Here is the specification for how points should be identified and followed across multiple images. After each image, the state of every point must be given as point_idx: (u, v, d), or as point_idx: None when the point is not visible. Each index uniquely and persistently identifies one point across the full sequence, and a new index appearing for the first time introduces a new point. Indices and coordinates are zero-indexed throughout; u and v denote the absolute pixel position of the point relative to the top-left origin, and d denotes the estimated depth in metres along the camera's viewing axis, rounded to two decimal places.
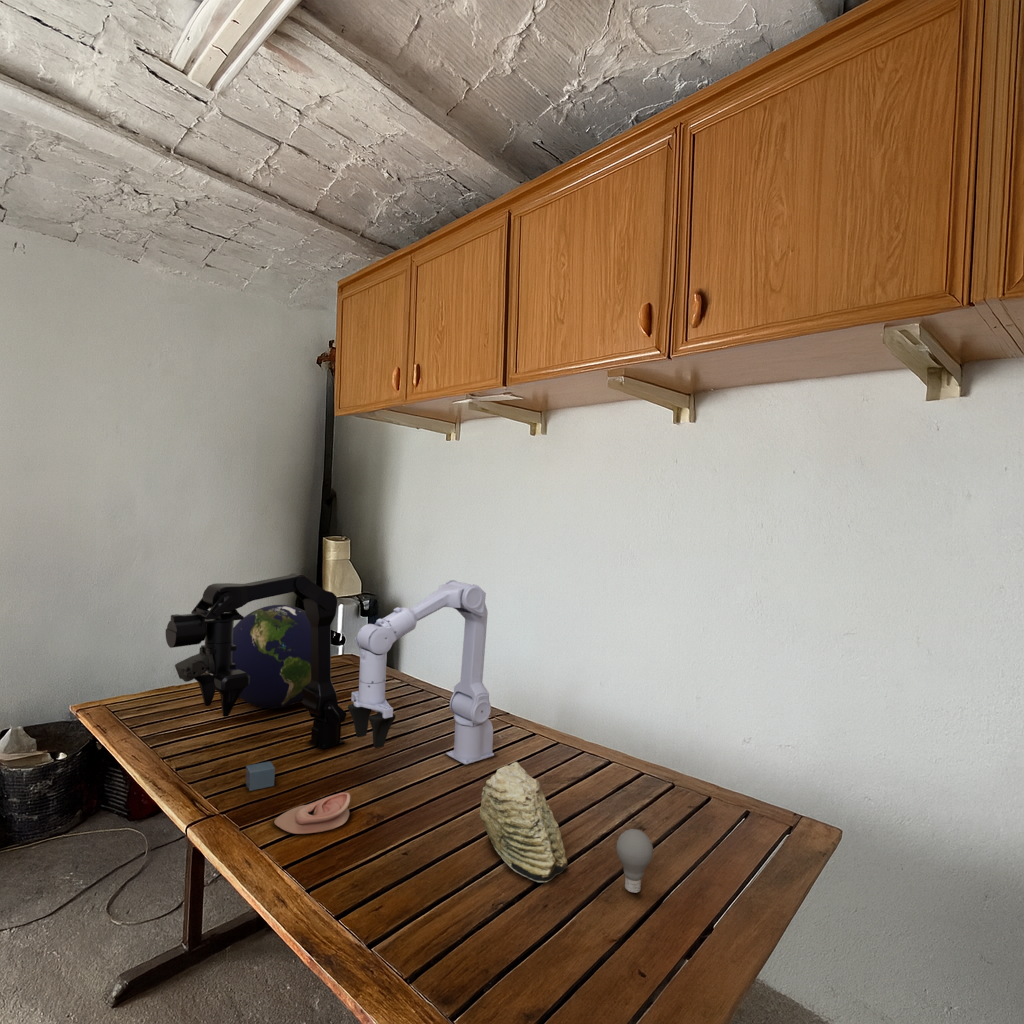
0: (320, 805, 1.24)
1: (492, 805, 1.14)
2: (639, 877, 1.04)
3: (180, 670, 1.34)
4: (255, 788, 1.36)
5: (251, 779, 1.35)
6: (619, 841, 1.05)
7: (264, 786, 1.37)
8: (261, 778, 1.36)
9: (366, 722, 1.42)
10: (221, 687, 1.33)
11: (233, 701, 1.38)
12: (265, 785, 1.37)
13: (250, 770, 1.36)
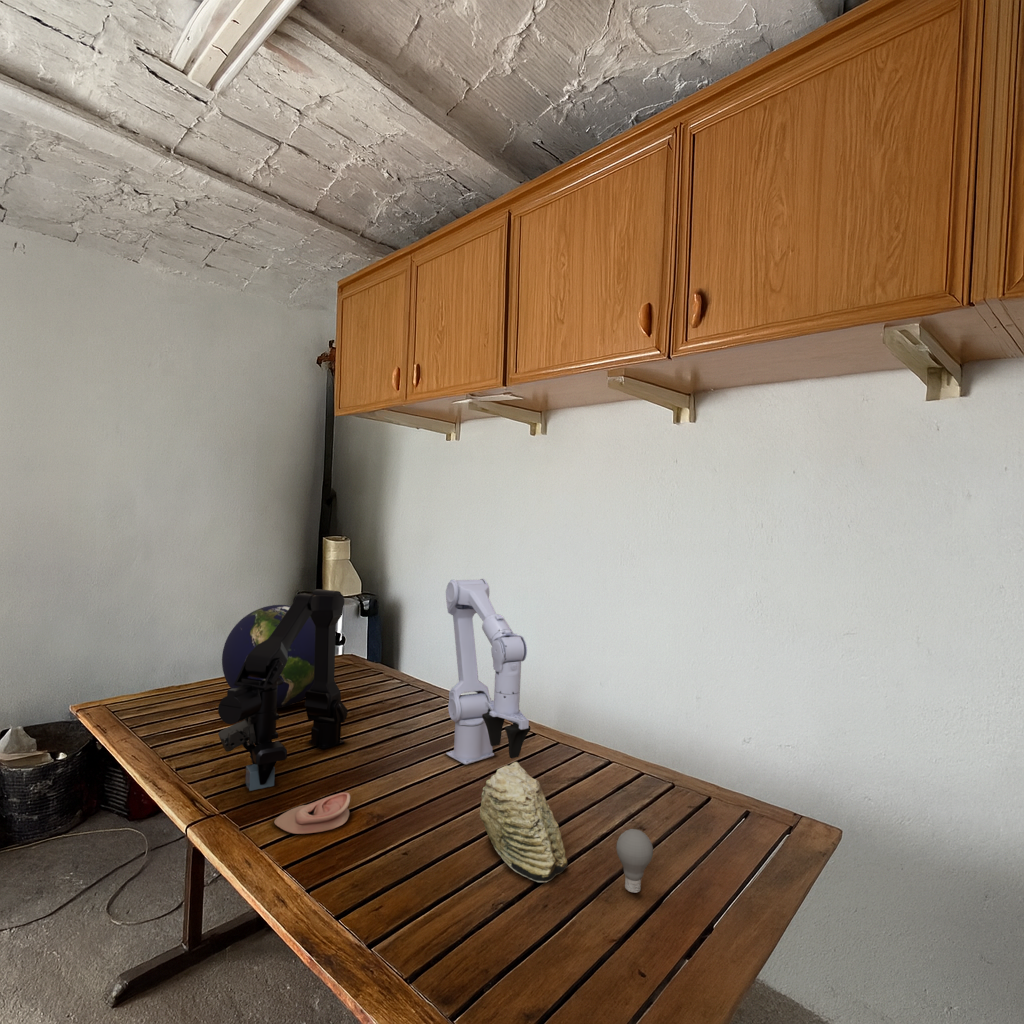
0: (320, 805, 1.24)
1: (492, 805, 1.14)
2: (639, 877, 1.04)
3: (221, 739, 1.32)
4: (255, 788, 1.36)
5: (251, 779, 1.35)
6: (619, 841, 1.05)
7: (264, 786, 1.37)
8: None
9: (500, 731, 1.45)
10: (256, 761, 1.29)
11: (269, 770, 1.36)
12: (265, 785, 1.37)
13: (250, 770, 1.36)
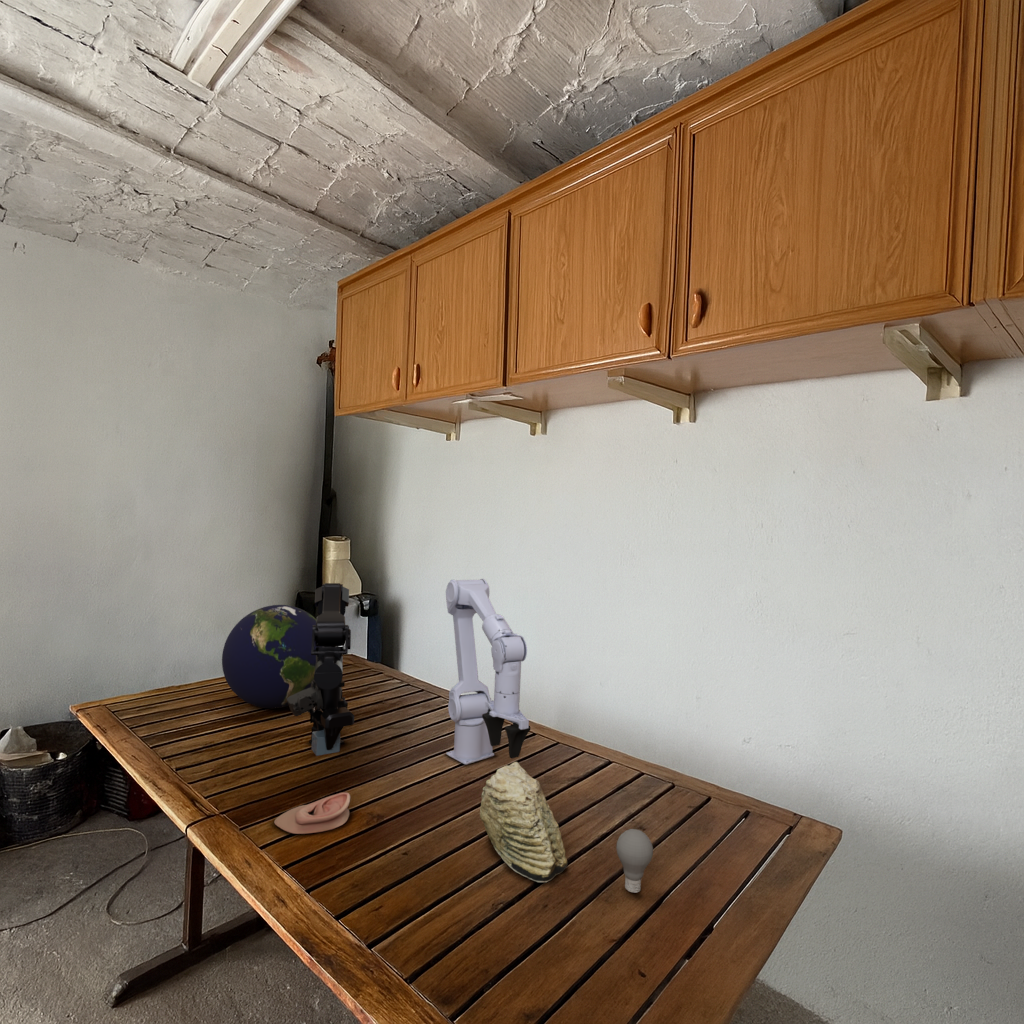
0: (320, 805, 1.24)
1: (492, 805, 1.14)
2: (639, 877, 1.04)
3: (290, 704, 1.35)
4: (322, 753, 1.38)
5: (318, 744, 1.38)
6: (619, 841, 1.05)
7: (330, 752, 1.39)
8: None
9: (500, 731, 1.45)
10: (325, 725, 1.32)
11: (335, 735, 1.39)
12: (331, 751, 1.39)
13: (317, 736, 1.39)
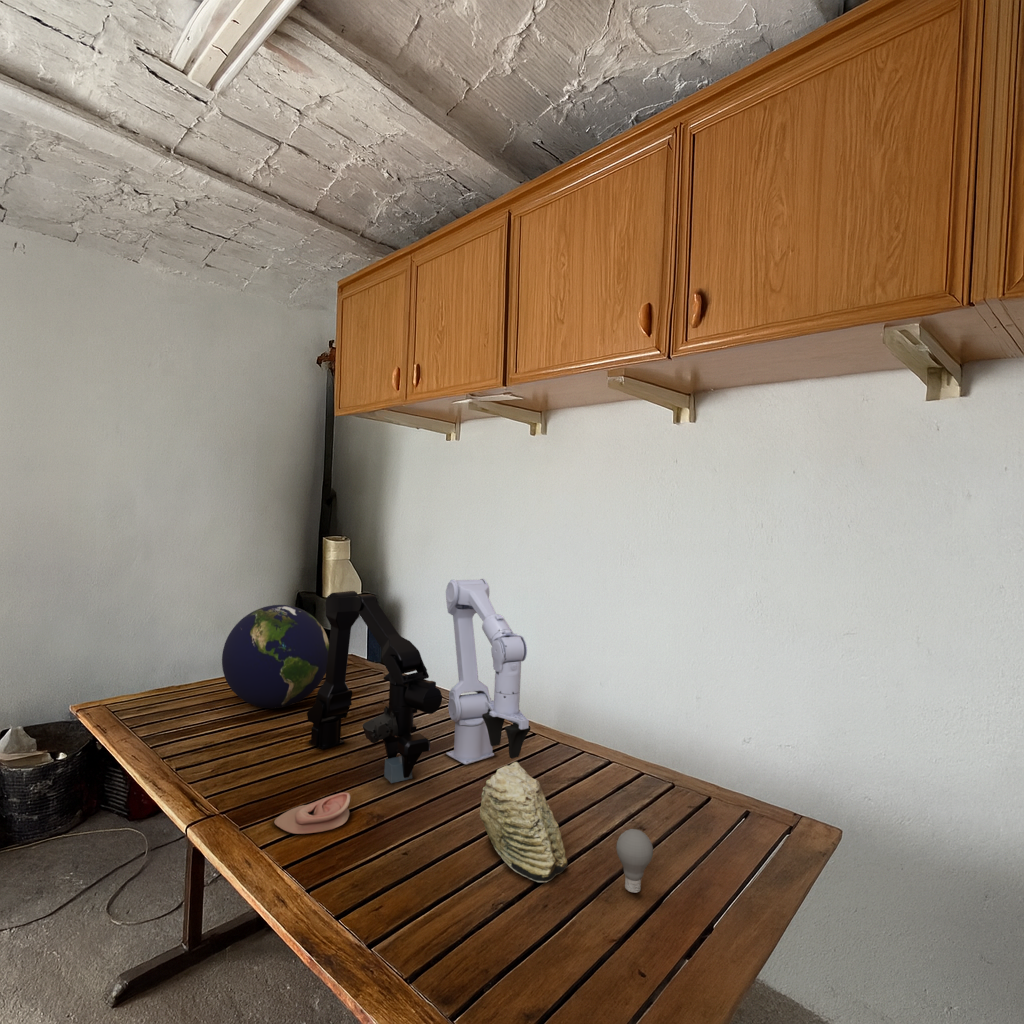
0: (320, 805, 1.24)
1: (492, 805, 1.14)
2: (639, 877, 1.04)
3: (367, 731, 1.39)
4: (396, 780, 1.42)
5: (393, 772, 1.41)
6: (619, 841, 1.05)
7: (403, 779, 1.43)
8: (401, 771, 1.43)
9: (500, 731, 1.45)
10: (404, 752, 1.35)
11: (413, 763, 1.41)
12: (404, 778, 1.43)
13: (391, 763, 1.42)
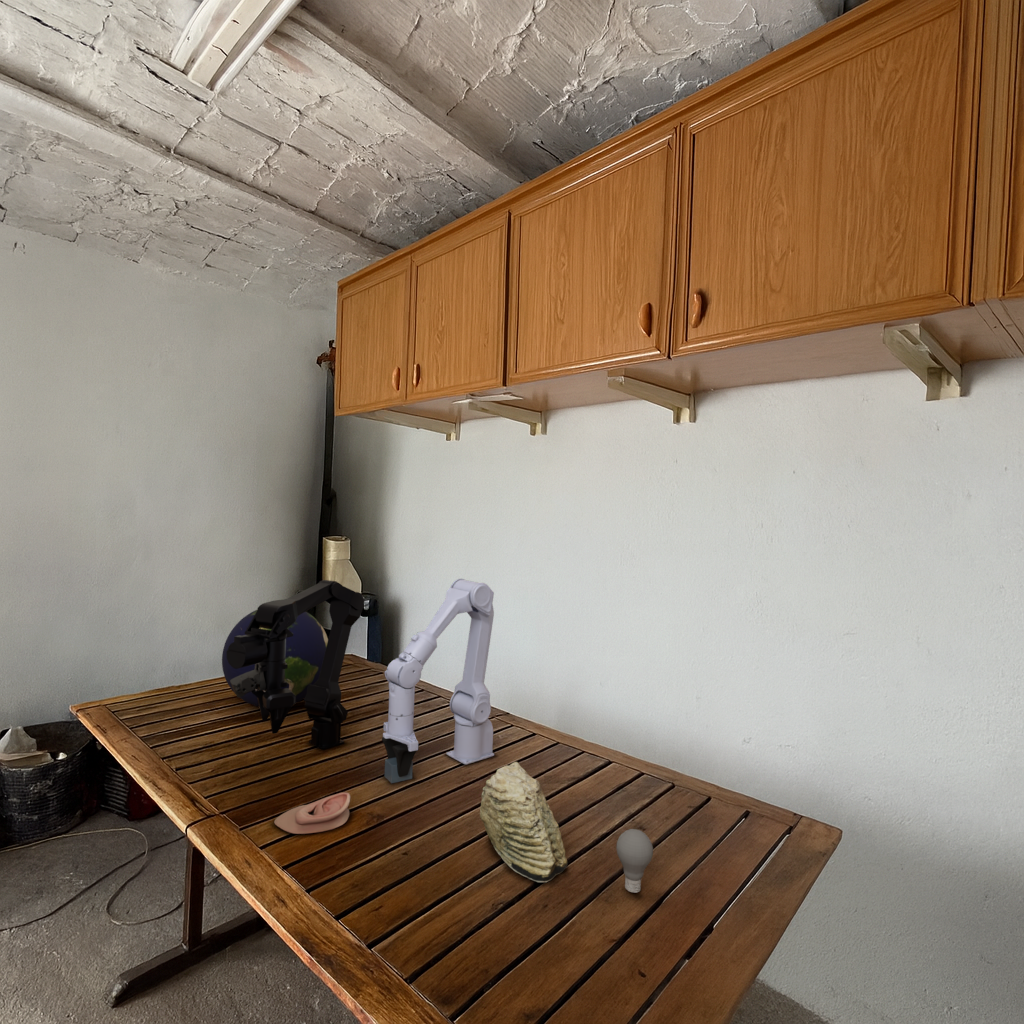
0: (320, 805, 1.24)
1: (492, 805, 1.14)
2: (639, 877, 1.04)
3: (233, 686, 1.39)
4: (396, 781, 1.42)
5: (393, 772, 1.41)
6: (619, 841, 1.05)
7: (404, 779, 1.43)
8: None
9: None
10: (266, 705, 1.36)
11: (281, 719, 1.41)
12: (404, 778, 1.43)
13: (391, 763, 1.42)
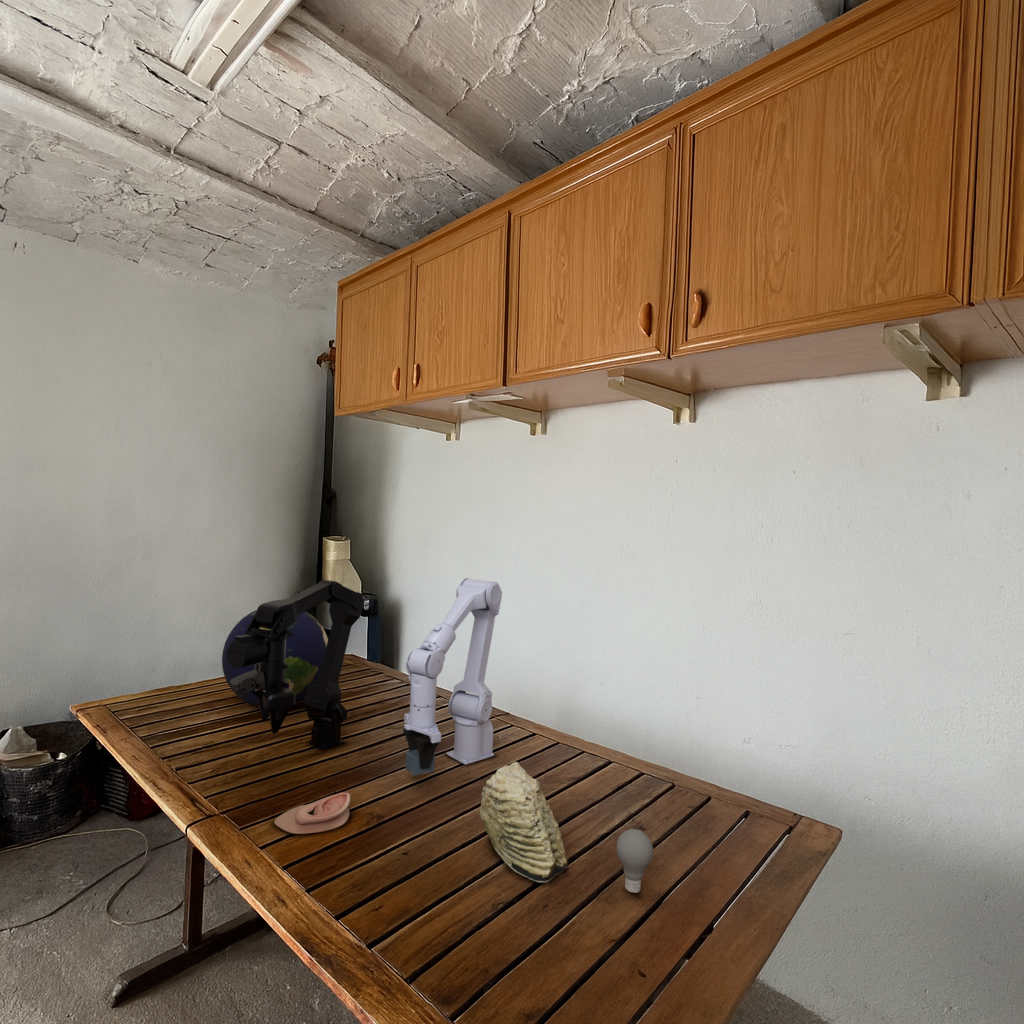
0: (320, 805, 1.24)
1: (492, 805, 1.14)
2: (639, 877, 1.04)
3: (233, 686, 1.39)
4: (418, 773, 1.39)
5: (414, 764, 1.38)
6: (619, 841, 1.05)
7: (425, 771, 1.40)
8: None
9: None
10: (266, 705, 1.36)
11: (281, 719, 1.41)
12: (426, 771, 1.40)
13: (413, 756, 1.39)
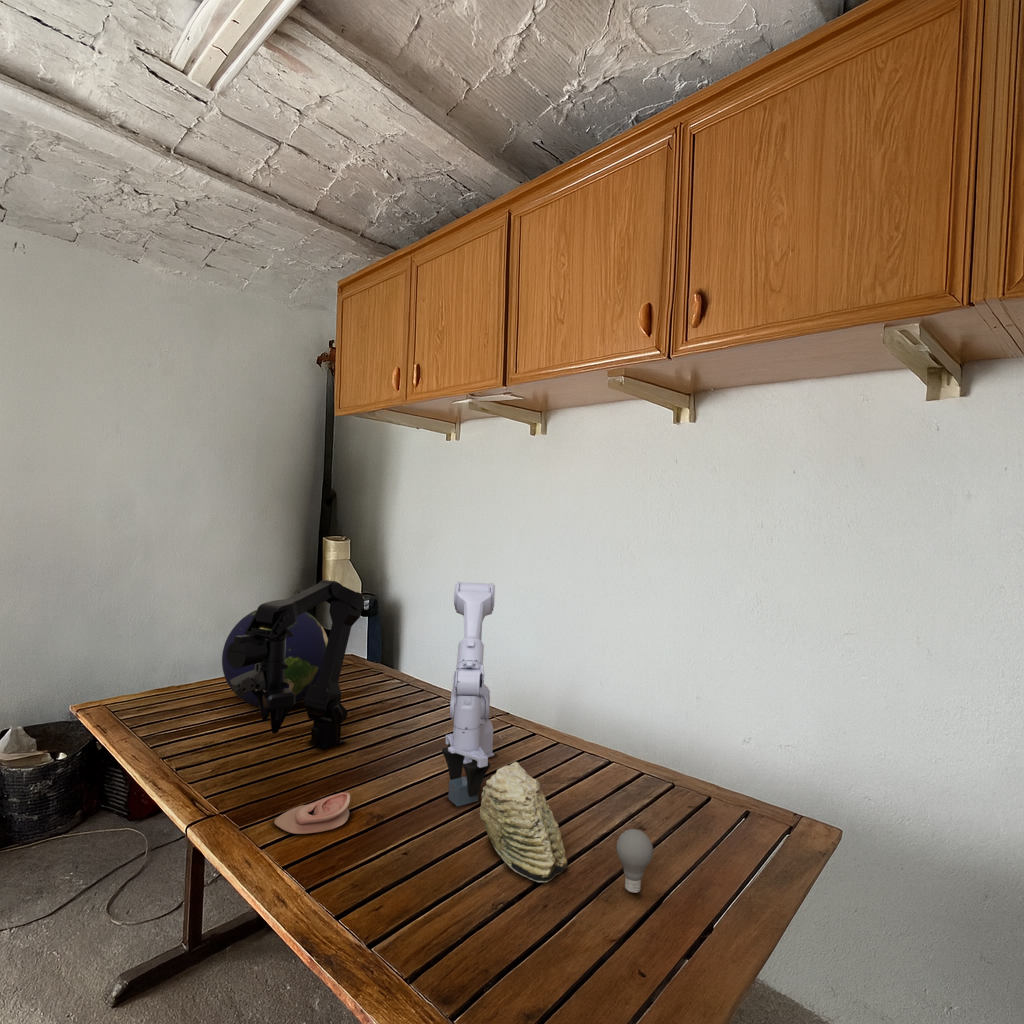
0: (320, 805, 1.24)
1: (492, 805, 1.14)
2: (639, 877, 1.04)
3: (233, 686, 1.39)
4: (462, 803, 1.33)
5: (459, 794, 1.32)
6: (619, 841, 1.05)
7: (470, 801, 1.34)
8: (467, 793, 1.33)
9: (460, 767, 1.39)
10: (266, 705, 1.36)
11: (281, 719, 1.41)
12: (470, 801, 1.34)
13: (456, 785, 1.33)
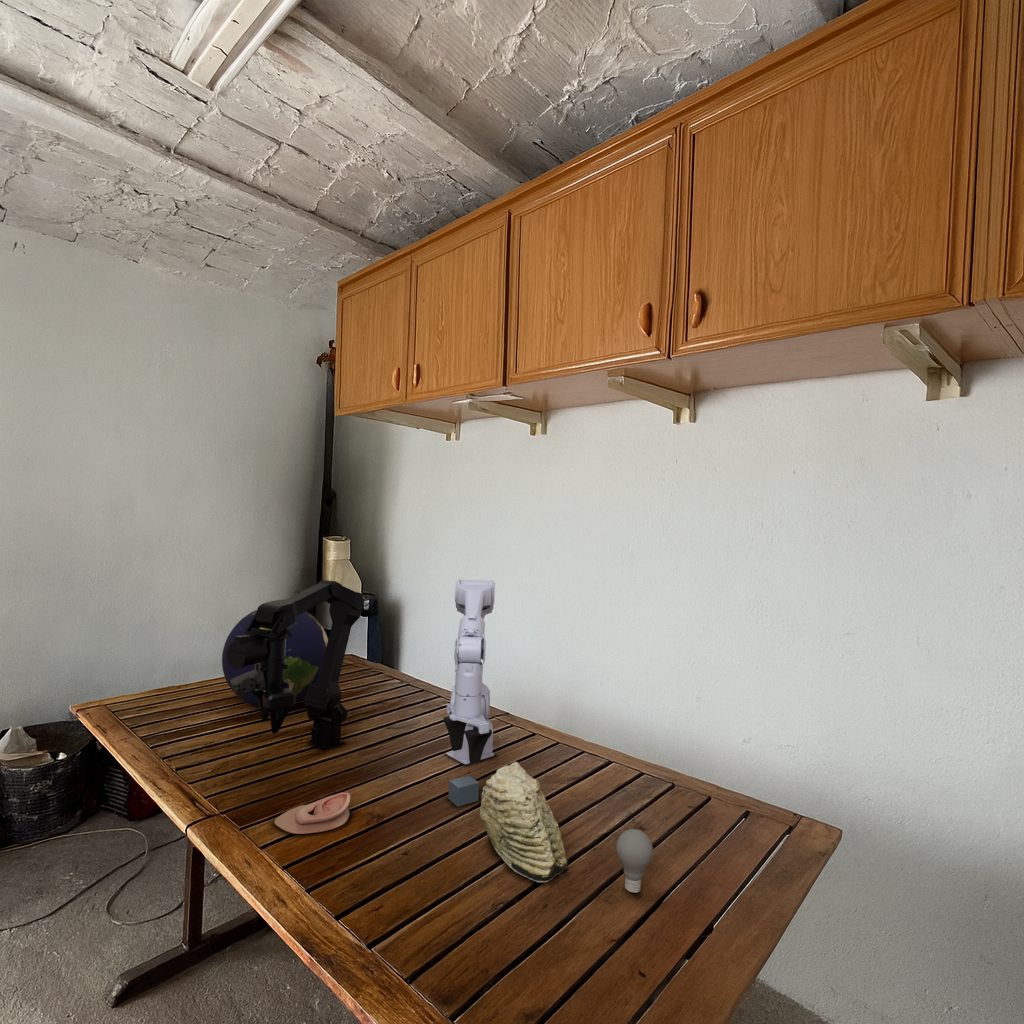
0: (320, 805, 1.24)
1: (492, 805, 1.14)
2: (639, 877, 1.04)
3: (233, 686, 1.39)
4: (462, 803, 1.33)
5: (459, 794, 1.32)
6: (619, 841, 1.05)
7: (470, 801, 1.34)
8: (467, 793, 1.33)
9: (461, 736, 1.39)
10: (266, 705, 1.36)
11: (281, 719, 1.41)
12: (470, 801, 1.34)
13: (456, 785, 1.33)
